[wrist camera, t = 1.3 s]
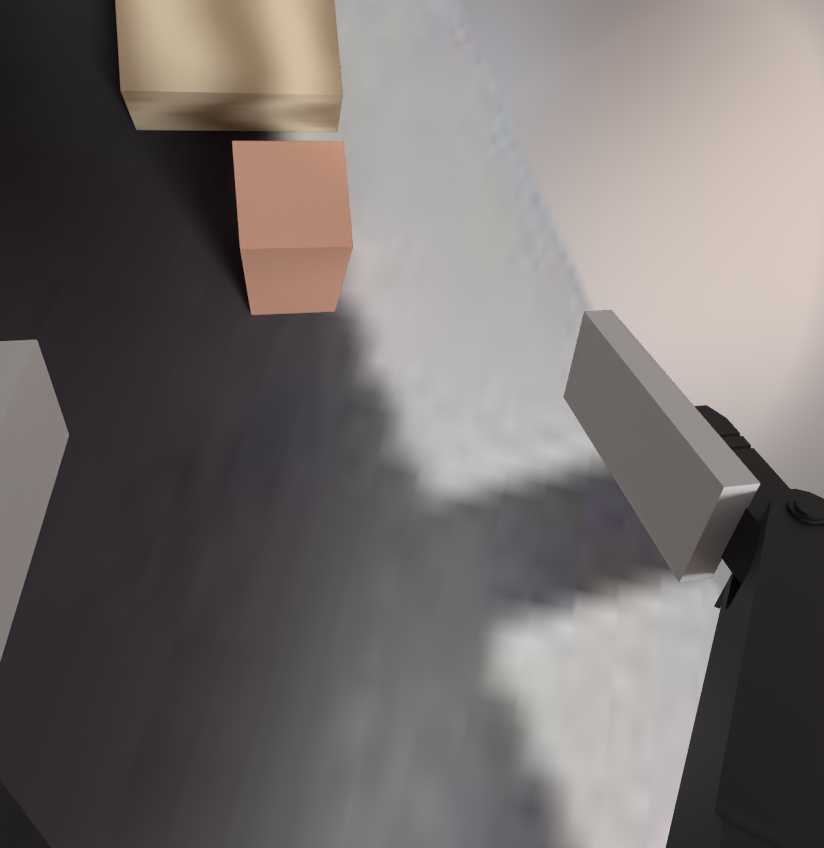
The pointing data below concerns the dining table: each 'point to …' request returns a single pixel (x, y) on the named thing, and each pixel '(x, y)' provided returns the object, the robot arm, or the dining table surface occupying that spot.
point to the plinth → (230, 64)
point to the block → (292, 223)
